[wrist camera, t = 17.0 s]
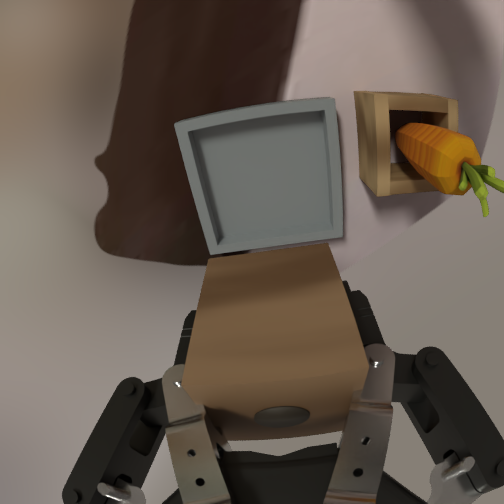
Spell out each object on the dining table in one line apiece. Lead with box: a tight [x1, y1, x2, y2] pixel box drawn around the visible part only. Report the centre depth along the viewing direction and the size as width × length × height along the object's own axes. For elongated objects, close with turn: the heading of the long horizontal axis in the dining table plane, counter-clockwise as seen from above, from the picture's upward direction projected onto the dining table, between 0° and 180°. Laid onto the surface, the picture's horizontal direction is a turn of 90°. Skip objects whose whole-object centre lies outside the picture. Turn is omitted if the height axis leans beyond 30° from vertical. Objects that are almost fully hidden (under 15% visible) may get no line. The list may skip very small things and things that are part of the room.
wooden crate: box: [354, 91, 458, 197], centre depth 22 cm, size 9×9×5 cm
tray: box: [174, 97, 343, 255], centre depth 26 cm, size 14×14×2 cm
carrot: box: [395, 123, 504, 217], centre depth 18 cm, size 5×5×15 cm
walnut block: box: [181, 243, 369, 441], centre depth 10 cm, size 5×5×6 cm
